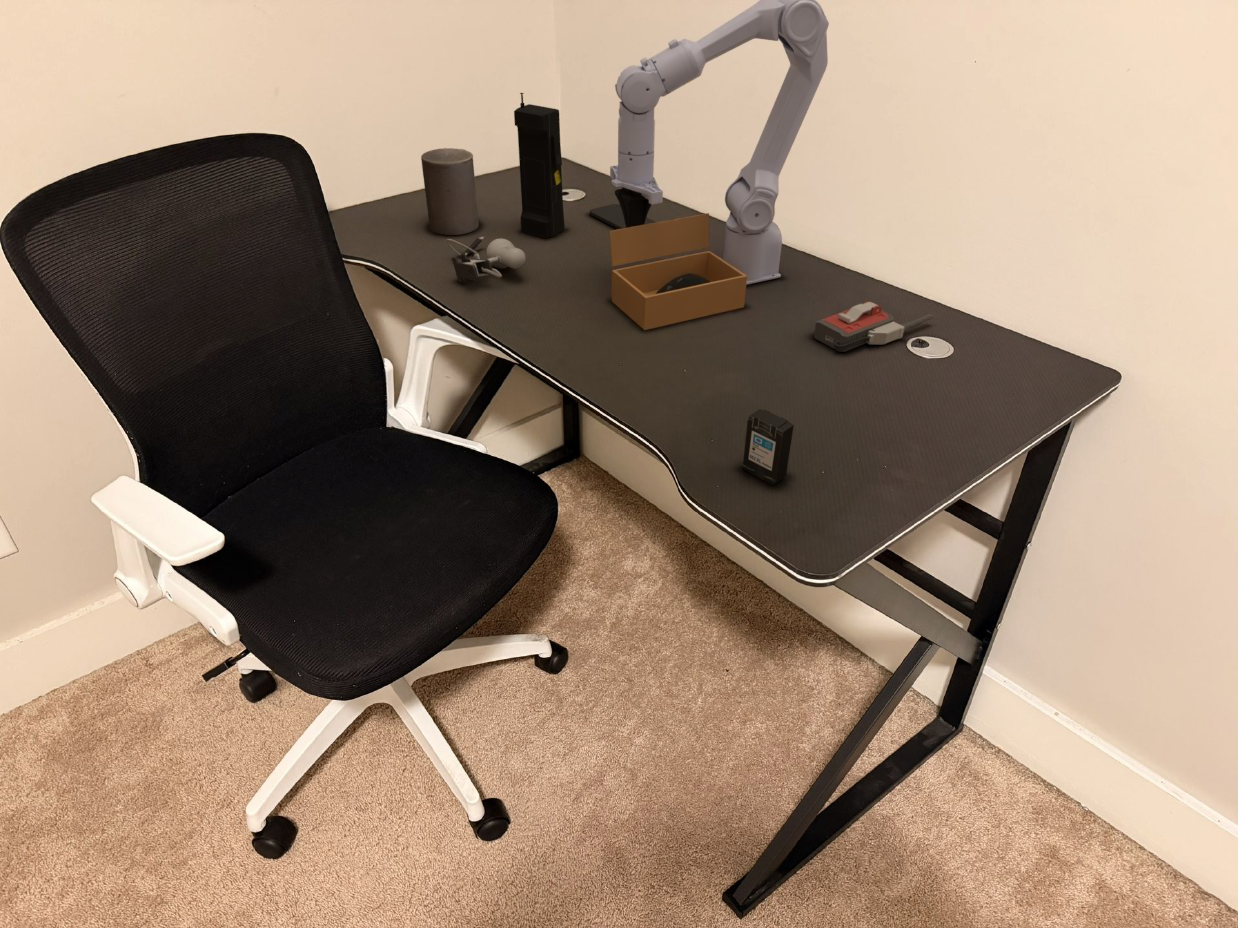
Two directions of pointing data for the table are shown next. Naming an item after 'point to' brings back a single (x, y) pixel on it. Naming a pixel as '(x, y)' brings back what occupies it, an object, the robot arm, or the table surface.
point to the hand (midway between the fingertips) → (634, 233)
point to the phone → (613, 216)
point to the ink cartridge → (767, 446)
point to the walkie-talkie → (861, 327)
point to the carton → (655, 310)
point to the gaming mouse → (683, 282)
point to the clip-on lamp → (497, 253)
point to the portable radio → (540, 169)
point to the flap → (659, 239)
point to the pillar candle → (450, 191)
